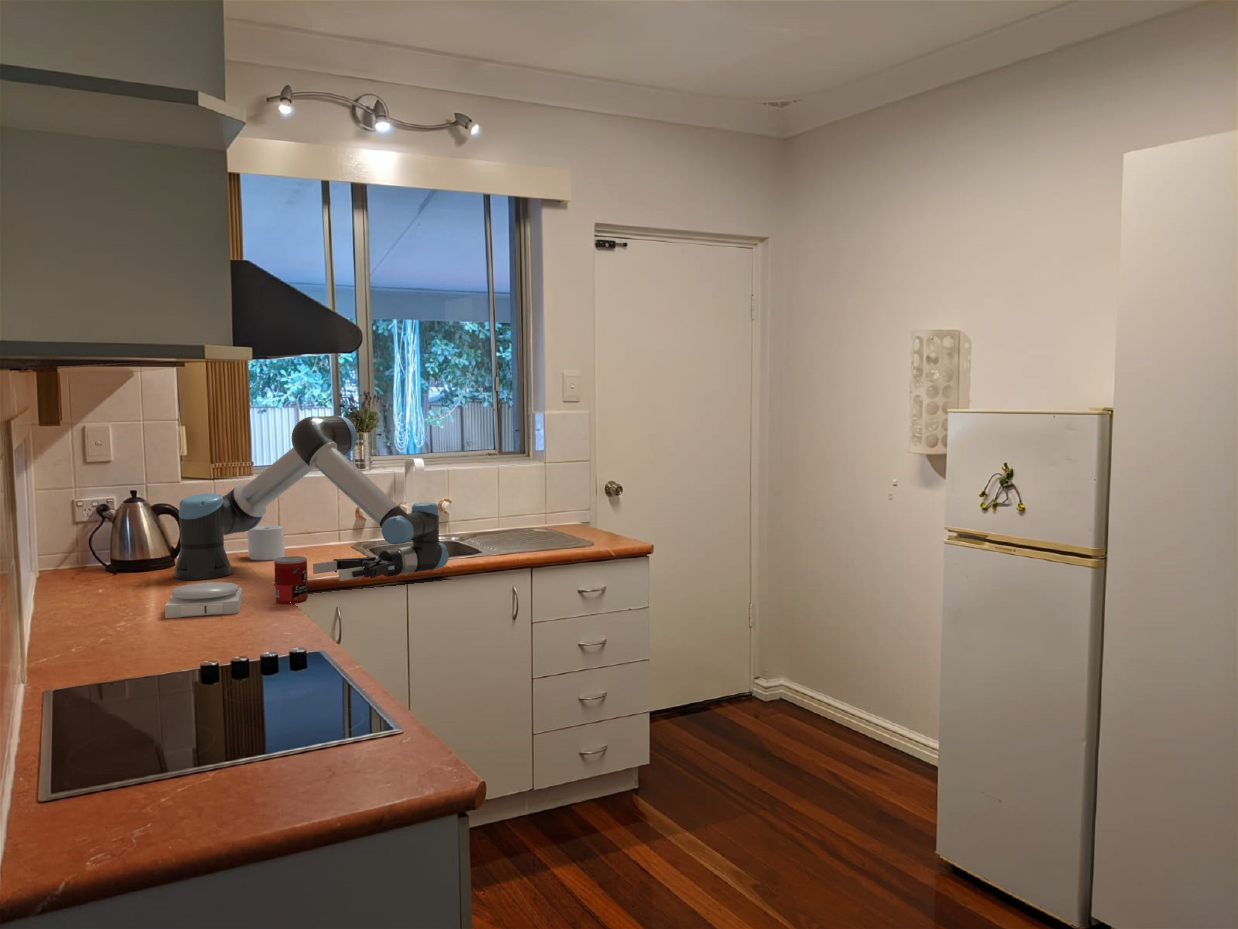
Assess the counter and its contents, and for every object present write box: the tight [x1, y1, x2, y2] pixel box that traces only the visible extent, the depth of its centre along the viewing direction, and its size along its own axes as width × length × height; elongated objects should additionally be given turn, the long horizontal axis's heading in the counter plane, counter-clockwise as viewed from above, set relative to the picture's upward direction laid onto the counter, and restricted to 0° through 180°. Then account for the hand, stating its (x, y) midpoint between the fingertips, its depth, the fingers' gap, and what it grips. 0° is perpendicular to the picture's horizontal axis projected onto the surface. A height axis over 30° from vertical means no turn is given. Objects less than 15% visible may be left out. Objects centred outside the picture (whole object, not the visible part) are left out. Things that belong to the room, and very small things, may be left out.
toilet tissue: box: [247, 524, 286, 561], centre depth 301 cm, size 11×12×10 cm
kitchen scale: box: [164, 581, 244, 619], centre depth 228 cm, size 17×16×5 cm
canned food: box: [273, 555, 309, 605], centre depth 236 cm, size 8×8×11 cm
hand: (326, 572), depth 243 cm, fingers open, 13 cm apart
